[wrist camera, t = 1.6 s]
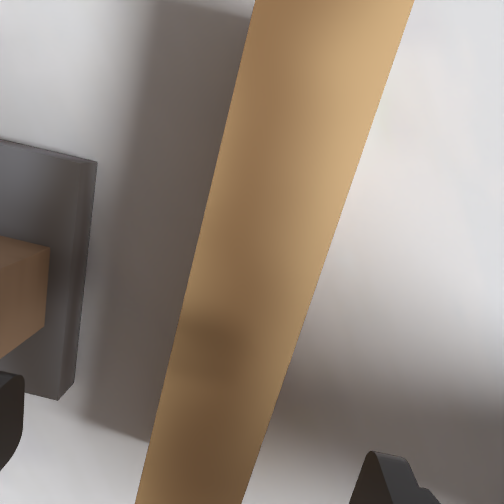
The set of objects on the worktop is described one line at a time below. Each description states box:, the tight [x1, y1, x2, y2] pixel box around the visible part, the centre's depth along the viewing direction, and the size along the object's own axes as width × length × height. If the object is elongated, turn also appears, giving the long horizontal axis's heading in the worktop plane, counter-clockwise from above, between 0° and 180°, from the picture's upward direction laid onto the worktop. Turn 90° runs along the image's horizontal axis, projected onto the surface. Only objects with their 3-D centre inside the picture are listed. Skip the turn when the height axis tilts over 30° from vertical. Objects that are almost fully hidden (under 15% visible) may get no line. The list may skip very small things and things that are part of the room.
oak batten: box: [135, 0, 414, 504], centre depth 15 cm, size 4×22×6 cm, turn 165°
